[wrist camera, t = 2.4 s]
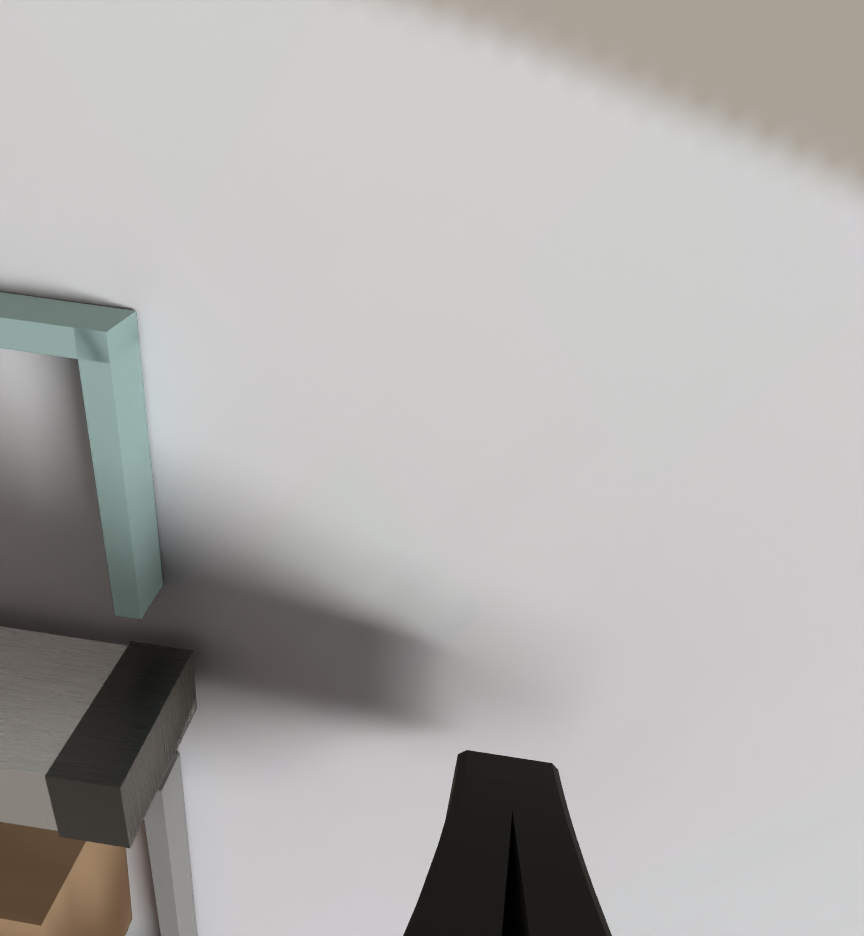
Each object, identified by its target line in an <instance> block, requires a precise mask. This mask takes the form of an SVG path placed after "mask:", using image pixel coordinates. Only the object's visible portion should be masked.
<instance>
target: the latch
mask: <svg viewBox="0 0 864 936" xmlns="http://www.w3.org/2000/svg"><path fill="white" fill-rule="evenodd" d="M196 709H197V701H196V688H195V675H194V662H193V651H191V650H185V649H178V648H171V647H165V646H158V645H152V644H145V643H138V642H132V641H131V642H130V643H129V645H128V646H127V645H120V644H114V643H107V642H101V641H94V640H87V639H81V638H74V637H68V636H61V635H54V634H48V633H41V632H35V631H28V630H21V629H15V628H8V627H2V626H0V822H5V823H11V824H17V825H24V826H30V827H36V828H42V829H49V830H55V831H58V833H59V837H63V838H69V839H75V840H82V841H88V842H94V843H101V844H107V845H113V846H119V847H126V848H130V847H131V845H132V843H133V841H134V839H135V837H136V835H137V832H138V830H139V828H140V826H141V824H142V822H143V820H144V818H145V816H146V814H147V812H148V809H149V807H150V805H151V803H152V801H153V799H154V797H155V795H156V793H157V791H158V788H159V786H160V784H161V782H162V780H163V778H164V776H165V774H166V772H167V770H168V767H169V765H170V763H171V761H172V759H173V757H174V755H175V753H176V751H177V749H178V746H179V744H180V742H181V740H182V738H183V736H184V734H185V732H186V730H187V728H188V725H189V723H190V721H191V719H192V717H193V715H194V713H195V711H196Z"/></svg>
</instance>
